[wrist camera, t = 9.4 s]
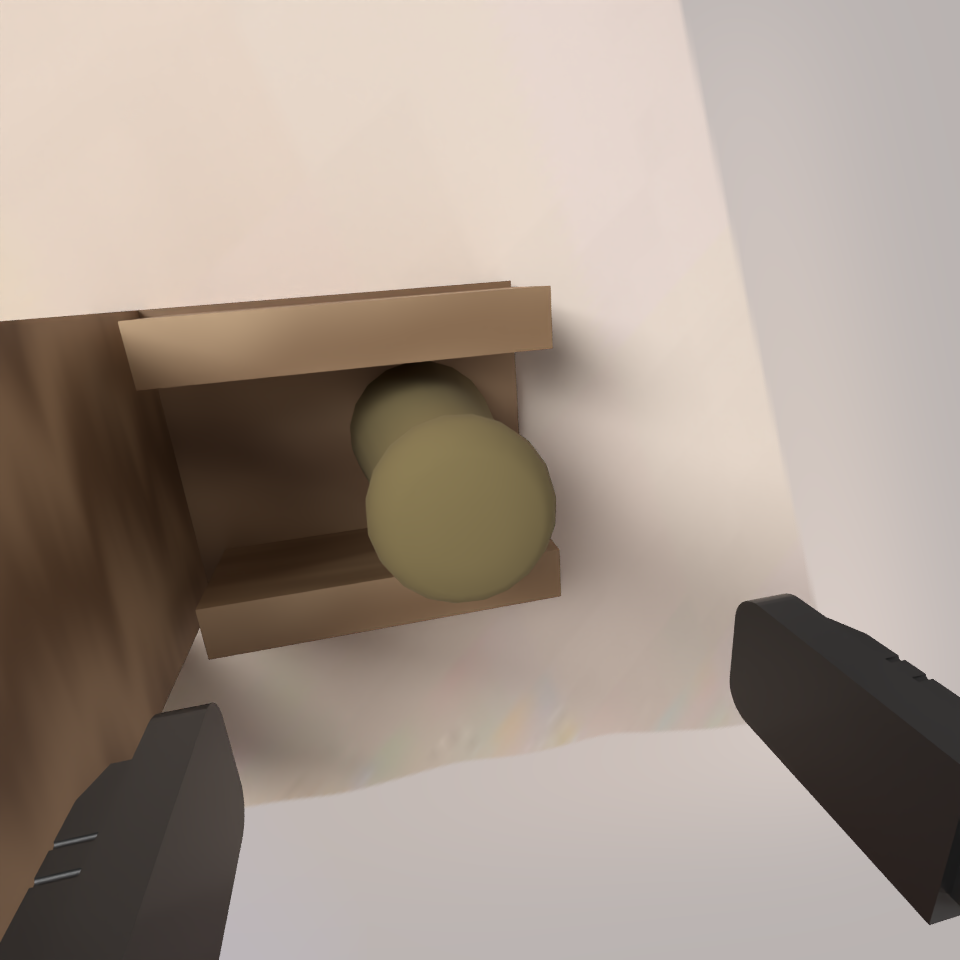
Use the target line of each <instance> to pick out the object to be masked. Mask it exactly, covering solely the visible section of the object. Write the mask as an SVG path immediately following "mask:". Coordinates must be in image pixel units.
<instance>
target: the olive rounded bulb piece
mask: <svg viewBox="0 0 960 960" xmlns="http://www.w3.org/2000/svg"><path fill="white" fill-rule="evenodd" d="M350 432H351V444H352V450H353V452H354V454H355V457H356V459H357V461H358V463H359V466H360V468H361V470H362V472H363V473H364V475H365V477H366V478H367V480H368V482H369V488H368V491H367V495H366V515H367V528H368V536H369V538H370V540H371V542H372V545H373V547H374V549H375V551H376V554H377V556H378V558H379V560H380V561H381V563H382V564H383V565H384V566H385V567H386V568H387V570H388V571H389V572H390V573H391V574H392V575H393V576H394V577H395V578H396V579H397V580H398V581H399V582H400V583H401V584H402V585H403V586H404V587H406V588H408V589H410V590H412V591H414V592H416V593H418V594H420V595H422V596H424V597H425V598H427V599H432V600H438V601H444V602H450V603H462V602H470V601H479V600H485V599H488V598H490V597H492V596H495V595H497V594H500V593H502V592H504V591H507V590H509V589H510V588H511V587H513V586H514V585H515V584H516V583H518V582H519V581H520V580H521V579H523V578H524V577H525V576H527V575H528V574H529V573H530V572H531V570H532V569H533V567H534V566H535V565H536V563H537V562H538V561H539V559H540V558H541V556H542V555H543V554H544V552H545V551H546V549H547V546H548V543H549V541H550V538H551V535H552V532H553V529H554V526H555V513H556V496H555V492H554V489H553V486H552V482H551V479H550V476H549V473H548V469H547V466H546V464H545V462H544V461H543V460H542V458H541V457H540V456H539V454H538V453H537V451H536V450H535V449H534V447H533V446H532V445H531V443H530V442H529V441H528V440H526V439H525V438H524V437H522V436H521V435H519V434H518V433H516V432H515V431H513V430H512V429H510V428H509V427H507V426H506V425H504V424H503V423H502V422H500V421H496V420H494V419H493V416H492V414H491V412H490V409H489V407H488V405H487V403H486V400H485V398H484V397H483V395H482V394H481V393H480V391H479V390H478V389H477V387H476V386H475V385H474V383H473V382H472V381H471V380H470V379H469V378H467V377H466V376H464V375H463V374H461V373H460V372H459V371H457V370H456V369H454V368H453V367H449V366H446V365H442V364H439V363H435V362H432V361H424V362H413V363H404V364H401V365H399V366H396V367H393V368H391V369H388V370H386V371H384V372H383V373H382V374H381V375H379V376H378V377H377V378H376V379H374V380H373V381H372V382H371V383H370V384H368V385H367V387H366V389H365V390H364V392H363V393H362V395H361V396H360V398H359V399H358V401H357V403H356V404H355V408H354V412H353V416H352V420H351V424H350Z"/></svg>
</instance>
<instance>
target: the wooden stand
mask: <svg viewBox="0 0 960 960" xmlns="http://www.w3.org/2000/svg"><path fill="white" fill-rule="evenodd" d="M551 348H553V346H552V317H551V287H550V286H533V287H511V281H502V282H489V283H477V284H464V285H452V286H439V287H426V288H414V289H401V290H389V291H376V292H364V293H351V294H338V295H326V296H313V297H301V298H288V299H275V300H263V301H250V302H238V303H225V304H213V305H200V306H187V307H175V308H162V309H150V310H137V311H125V312H112V313H99V314H87V315H74V316H62V317H50V318H37V319H25V320H12V321H0V942H1V940H2V938H3V936H4V934H5V932H6V930H7V928H8V927H9V925H10V923H11V921H12V919H13V917H14V915H15V913H16V912H17V910H18V908H19V906H20V904H21V902H22V900H23V898H24V896H25V895H26V893H27V891H28V889H29V888H32V887H33V886H34V878H35V876H36V874H37V872H38V870H39V868H40V866H41V864H42V863H43V861H44V859H45V857H46V855H47V853H48V851H50V850H53V847H54V843H53V842H54V840H55V838H56V836H57V834H58V832H59V831H60V829H61V827H62V825H63V823H64V821H65V819H66V817H67V815H68V814H69V812H70V810H71V808H72V806H73V804H74V802H75V801H76V800H77V798H78V797H79V796H80V795H81V794H82V793H83V792H84V791H85V790H86V789H87V788H88V787H89V786H90V785H91V784H92V783H93V782H94V781H95V780H96V779H97V777H98V776H99V775H100V774H101V773H102V772H103V771H104V770H105V769H106V768H107V767H108V766H109V765H110V764H111V763H116V762H121V761H126V760H131V759H132V758H133V756H134V753H135V751H136V749H137V747H138V745H139V742H140V740H141V738H142V736H143V734H144V732H145V729H146V727H147V725H148V723H149V721H150V719H151V718H152V717H153V716H154V715H155V714H158V713H161V712H162V710H163V708H164V705H165V703H166V701H167V699H168V697H169V694H170V692H171V690H172V688H173V686H174V683H175V681H176V679H177V677H178V675H179V672H180V670H181V668H182V666H183V664H184V661H185V659H186V657H187V655H188V652H189V650H190V648H191V646H192V644H193V641H194V639H195V637H196V635H197V633H198V630H199V628H200V629H201V633H202V637H203V641H204V644H205V648H206V652H207V655H208V659H209V660H210V659H216V658H221V657H227V656H232V655H238V654H243V653H249V652H254V651H260V650H265V649H271V648H276V647H282V646H287V645H293V644H299V643H304V642H310V641H315V640H321V639H326V638H332V637H337V636H343V635H348V634H354V633H359V632H365V631H370V630H376V629H382V628H387V627H393V626H398V625H404V624H409V623H415V622H420V621H426V620H431V619H437V618H442V617H448V616H453V615H459V614H465V613H470V612H476V611H481V610H487V609H492V608H498V607H503V606H509V605H514V604H520V603H525V602H531V601H536V600H542V599H548V598H553V597H559V596H561V583H560V554H559V549H558V547H557V546H556V545H555V544H554V542H553V541H552V540H551V539H550V541H549V543H548V546H547V549H546V551H545V552H544V554H543V555H542V556H541V558H540V559H539V561H538V562H537V563H536V565H535V566H534V567H533V569H532V570H531V572H530V573H529V574H528V575H527V576H525V577H524V578H523V579H521V580H520V581H519V582H518V583H516V584H515V585H514V586H513V587H511V588H510V589H509V590H507V591H504V592H502V593H500V594H497V595H495V596H492V597H490V598H488V599H485V600H479V601H470V602H462V603H450V602H444V601H438V600H432V599H427V598H425V597H424V596H422V595H420V594H418V593H416V592H414V591H412V590H410V589H408V588H406V587H404V586H403V585H402V584H401V583H400V582H399V581H398V580H397V579H396V578H395V577H394V576H393V575H392V574H391V573H390V572H389V571H388V570H387V568H386V567H385V566H384V565H383V564H382V563H381V561H380V560H379V558H378V556H377V554H376V551H375V549H374V547H373V545H372V542H371V540H370V538H369V536H368V528H367V515H366V495H367V491H368V488H369V482H368V480H367V478H366V477H365V475H364V473H363V472H362V470H361V468H360V466H359V463H358V461H357V459H356V457H355V454H354V452H353V450H352V444H351V432H350V424H351V420H352V416H353V412H354V408H355V404H356V403H357V401H358V399H359V398H360V396H361V395H362V393H363V392H364V390H365V389H366V387H367V385H368V384H370V383H371V382H372V381H373V380H374V379H376V378H377V377H378V376H379V375H381V374H382V373H383V372H384V371H386V370H388V369H391V368H393V367H396V366H399V365H401V364H404V363H413V362H424V361H432V362H435V363H439V364H442V365H446V366H449V367H453V368H454V369H456V370H457V371H459V372H460V373H461V374H463V375H464V376H466V377H467V378H469V379H470V380H471V381H472V382H473V383H474V385H475V386H476V387H477V389H478V390H479V391H480V393H481V394H482V395H483V397H484V398H485V400H486V403H487V405H488V407H489V409H490V412H491V414H492V416H493V419H494V420H496V421H500V422H502V423H503V424H504V425H506V426H507V427H509V428H510V429H512V430H513V431H515V432H516V433H518V434H519V426H518V408H517V390H516V372H515V353H514V352H521V351H531V350H541V349H551Z"/></svg>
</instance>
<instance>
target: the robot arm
mask: <svg viewBox="0 0 960 960" xmlns="http://www.w3.org/2000/svg"><path fill="white" fill-rule="evenodd" d="M730 689H731V694H732V697H733V700H734V703H735V705H736V708H737V710H738V711H739V713H740V715H741V716H742V718H743V719H744V720H745V722H746V723H747V724H748V725H749V726H750V727H751V728H752V729H753V731H754V732H755V733H756V734H757V735H758V736H759V737H760V738H761V739H762V740H763V742H764V743H765V744H766V745H767V746H768V747H769V748H770V749H771V750H772V752H773V753H774V754H775V755H776V756H777V757H778V758H779V759H780V760H781V762H782V763H783V764H784V765H785V766H786V767H787V768H788V769H789V770H790V772H791V773H792V774H793V775H794V776H795V777H796V778H797V779H798V780H799V781H800V783H801V784H802V785H803V786H804V787H805V788H806V789H807V790H808V791H809V793H810V794H811V795H812V796H813V797H814V798H815V799H816V800H817V801H818V802H819V803H820V805H821V806H822V807H823V808H824V809H825V810H826V811H827V812H828V814H829V815H830V816H831V817H832V818H833V819H834V820H835V821H836V822H837V824H839V826H840V827H841V828H842V829H843V830H844V831H845V832H846V834H847V835H848V836H849V837H850V838H851V839H852V840H853V841H854V842H855V844H856V845H857V846H858V847H859V848H860V849H861V850H862V851H863V852H864V853H865V854H866V855H867V857H868V858H869V859H870V860H871V861H872V862H873V863H874V865H875V866H876V867H877V868H878V869H879V870H880V871H881V872H882V873H883V874H884V876H885V877H886V878H887V879H888V880H889V881H890V882H891V883H892V884H893V886H894V887H895V888H896V889H897V890H898V891H899V892H900V893H901V894H902V895H903V897H904V898H905V899H906V900H907V901H908V902H909V903H910V904H911V905H912V906H913V908H914V909H915V910H916V911H917V912H918V913H919V914H920V915H921V917H922V918H923V919H924V920H925V921H926V922H927V923H928V924H929V925H931V924H934V923H937V922H940V921H943V920H947V919H950V918H953V917H956V916H959V915H960V697H959V696H957V695H956V694H954V693H953V692H951V691H950V690H949V689H947V688H946V687H944V686H943V685H941V684H940V683H938V682H937V681H935V680H934V679H931V680H928V679H927V677H926V674H925V673H923V672H922V671H920V670H919V669H917V668H916V667H915V666H913V665H911V664H910V663H909V662H907V661H906V660H903V661H901V660H900V659H899V657H898V655H897V654H895V653H894V652H892V651H891V650H889V649H888V648H887V647H885V646H884V645H882V644H880V643H879V642H878V641H876V640H875V639H873V638H872V637H870V636H869V635H867V634H865V633H863V632H860V631H858V630H856V629H853V628H851V627H848V626H846V625H844V624H841V623H839V622H837V621H834V620H832V619H829V618H826V617H825V616H824V615H822V614H821V613H819V612H818V611H816V610H815V609H814V608H812V607H811V606H809V605H808V604H806V603H805V602H804V601H802V600H801V599H799V598H798V597H796V596H794V595H792V594H781V595H776V596H770V597H765V598H760V599H755V600H750V601H745V602H742V603H741V604H740V605H739V606H738V608H737V611H736V616H735V626H734V637H733V648H732V659H731V671H730ZM243 829H244V798H243V791H242V786H241V782H240V778H239V774H238V771H237V767H236V764H235V760H234V756H233V753H232V749H231V746H230V742H229V738H228V735H227V731H226V728H225V724H224V720H223V717H222V714H221V711H220V709H219V707H218V706H217V705H216V704H215V703H210V704H205V705H200V706H195V707H189V708H184V709H179V710H174V711H169V712H164V713H158V714H155V715H154V716H153V717H152V718H151V719H150V721H149V723H148V725H147V727H146V729H145V732H144V734H143V736H142V738H141V740H140V742H139V745H138V747H137V749H136V751H135V753H134V756H133V758H132V759H131V760H126V761H121V762H116V763H111V764H110V765H109V766H108V767H107V768H106V769H105V770H104V771H103V772H102V773H101V774H100V775H99V776H98V777H97V779H96V780H95V781H94V782H93V783H92V784H91V785H90V786H89V787H88V788H87V789H86V790H85V791H84V792H83V793H82V794H81V795H80V796H79V797H78V798H77V800H76V801H75V802H74V804H73V806H72V808H71V810H70V812H69V814H68V815H67V817H66V819H65V821H64V823H63V825H62V827H61V829H60V831H59V832H58V834H57V836H56V838H55V840H54V842H53V843H54V847H53V850H50V851H48V853H47V855H46V857H45V859H44V861H43V863H42V864H41V866H40V868H39V870H38V872H37V874H36V876H35V878H34V886H33V887H32V888H29V889H28V891H27V893H26V895H25V896H24V898H23V900H22V902H21V904H20V906H19V908H18V910H17V912H16V913H15V915H14V917H13V919H12V921H11V923H10V925H9V927H8V928H7V930H6V932H5V934H4V936H3V938H2V940H1V942H0V960H219V956H220V951H221V946H222V940H223V935H224V930H225V925H226V920H227V915H228V909H229V904H230V899H231V894H232V889H233V884H234V879H235V874H236V868H237V863H238V858H239V852H240V848H241V843H242V837H243Z"/></svg>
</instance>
